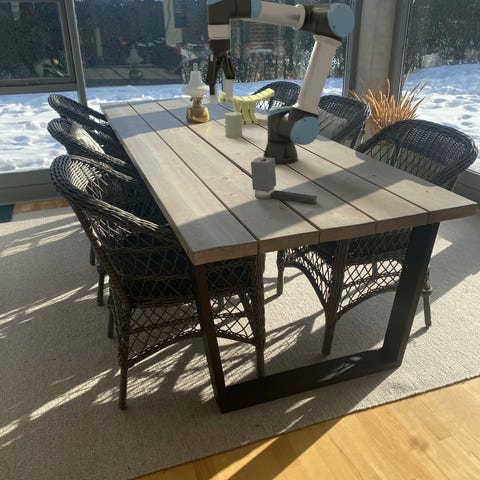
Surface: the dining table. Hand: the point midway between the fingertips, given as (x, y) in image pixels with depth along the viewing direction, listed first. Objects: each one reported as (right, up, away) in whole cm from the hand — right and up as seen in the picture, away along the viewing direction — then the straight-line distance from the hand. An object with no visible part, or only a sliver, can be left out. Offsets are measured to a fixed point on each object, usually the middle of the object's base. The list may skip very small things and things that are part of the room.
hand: (221, 101), depth 179 cm
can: (+3, +4, +80) cm, 81 cm away
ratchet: (+22, -36, -6) cm, 43 cm away
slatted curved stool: (+11, +20, +113) cm, 116 cm away
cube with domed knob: (+15, -32, -4) cm, 36 cm away
